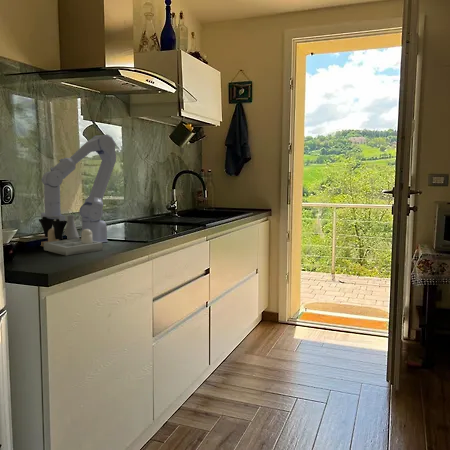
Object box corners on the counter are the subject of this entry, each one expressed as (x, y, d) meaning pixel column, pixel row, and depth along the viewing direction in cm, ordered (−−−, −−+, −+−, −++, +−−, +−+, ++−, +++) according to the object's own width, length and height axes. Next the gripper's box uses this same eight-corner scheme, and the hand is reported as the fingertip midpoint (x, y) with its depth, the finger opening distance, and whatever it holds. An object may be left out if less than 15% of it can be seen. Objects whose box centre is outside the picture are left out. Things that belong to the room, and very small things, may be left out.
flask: (82, 237, 199) (81, 214, 198) (77, 239, 192) (76, 216, 191) (65, 237, 199) (64, 214, 198) (59, 239, 192) (59, 216, 191)
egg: (55, 244, 179) (55, 227, 178) (61, 246, 177) (60, 228, 176) (46, 245, 176) (45, 228, 175) (51, 247, 174) (51, 229, 173)
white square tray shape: (79, 245, 179) (79, 225, 178) (102, 250, 170) (102, 229, 169) (44, 250, 168) (43, 228, 167) (66, 255, 158) (65, 232, 157)
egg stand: (57, 243, 181) (57, 240, 181) (66, 245, 177) (66, 242, 177) (40, 245, 176) (40, 242, 176) (49, 248, 172) (49, 244, 171)
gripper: (32, 201, 176) (33, 236, 178) (52, 204, 167) (53, 241, 168) (49, 201, 181) (50, 234, 183) (70, 203, 172) (70, 239, 174)
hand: (53, 237), depth 176 cm, fingers open, 7 cm apart
